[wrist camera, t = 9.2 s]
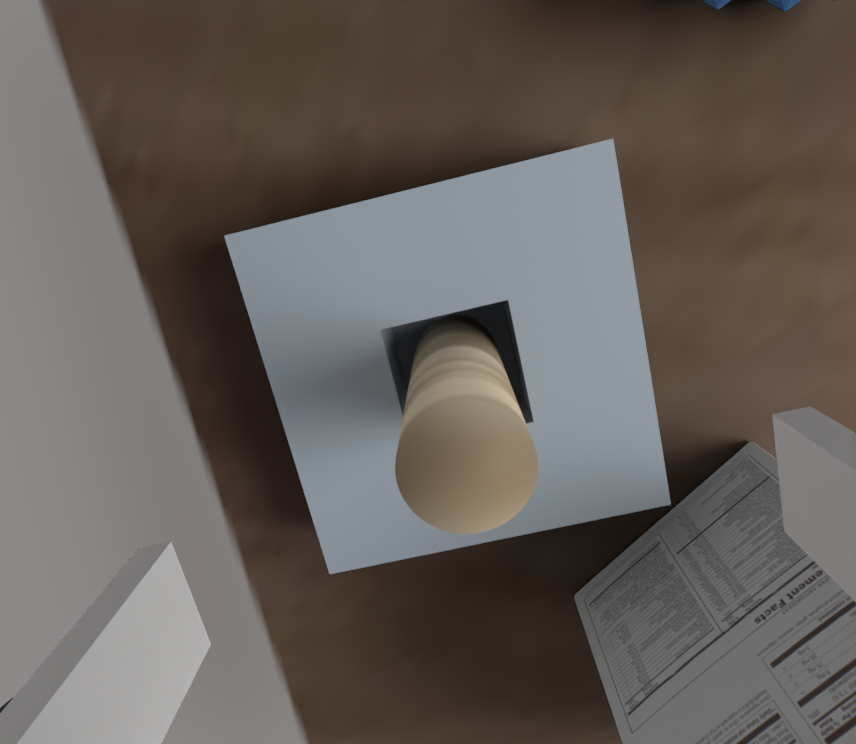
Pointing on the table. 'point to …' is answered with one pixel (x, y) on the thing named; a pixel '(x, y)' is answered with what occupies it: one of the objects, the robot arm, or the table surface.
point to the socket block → (471, 297)
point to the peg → (463, 433)
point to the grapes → (779, 0)
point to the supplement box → (724, 624)
